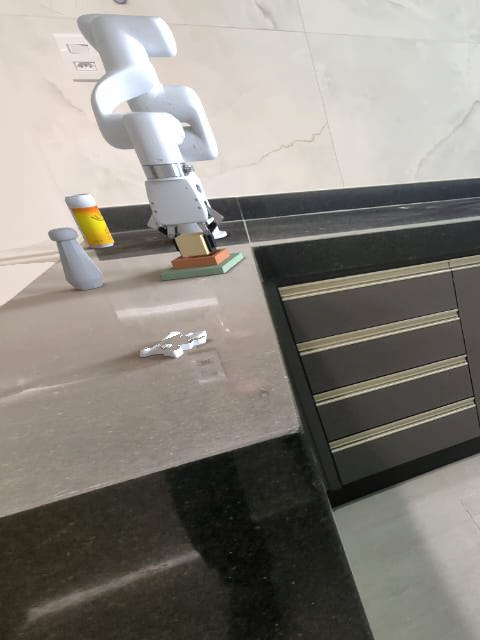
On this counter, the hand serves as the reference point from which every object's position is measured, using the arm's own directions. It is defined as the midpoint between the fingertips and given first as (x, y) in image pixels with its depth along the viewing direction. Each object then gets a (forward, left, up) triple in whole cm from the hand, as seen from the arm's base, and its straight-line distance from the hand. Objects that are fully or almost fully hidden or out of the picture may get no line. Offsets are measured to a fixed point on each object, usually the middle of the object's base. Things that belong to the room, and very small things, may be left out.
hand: (198, 251), depth 127 cm
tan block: (0, 0, 0) cm, 0 cm away
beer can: (-51, -41, -4) cm, 66 cm away
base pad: (0, 0, -4) cm, 4 cm away
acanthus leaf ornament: (+59, +13, -4) cm, 61 cm away
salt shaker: (+6, -20, -4) cm, 21 cm away
